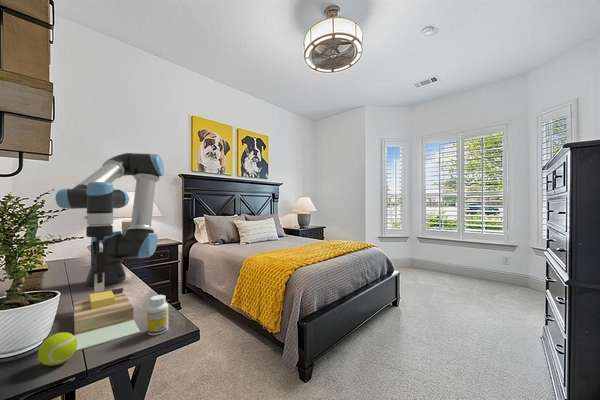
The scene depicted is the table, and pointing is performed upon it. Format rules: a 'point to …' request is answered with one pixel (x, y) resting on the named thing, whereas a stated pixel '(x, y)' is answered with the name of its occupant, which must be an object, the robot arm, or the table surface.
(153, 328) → the supplement bottle
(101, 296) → the yellow sticky note pad
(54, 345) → the tennis ball
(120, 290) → the chocolate bar
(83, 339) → the mat
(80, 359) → the table surface
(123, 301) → the deck
